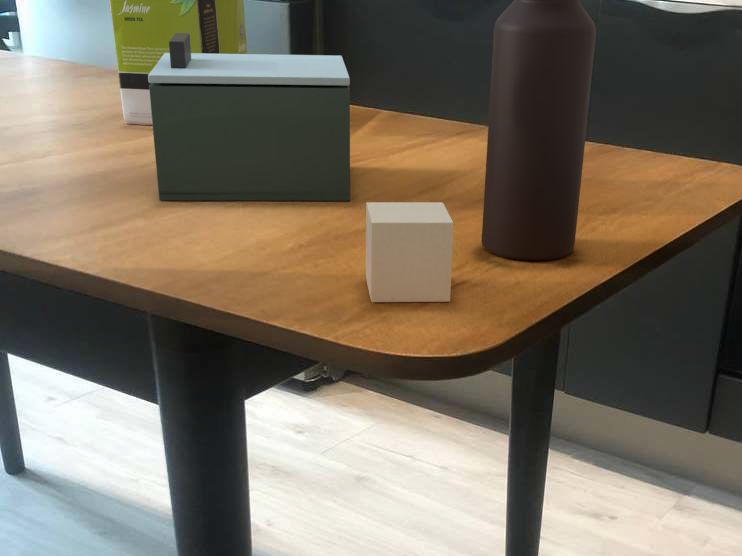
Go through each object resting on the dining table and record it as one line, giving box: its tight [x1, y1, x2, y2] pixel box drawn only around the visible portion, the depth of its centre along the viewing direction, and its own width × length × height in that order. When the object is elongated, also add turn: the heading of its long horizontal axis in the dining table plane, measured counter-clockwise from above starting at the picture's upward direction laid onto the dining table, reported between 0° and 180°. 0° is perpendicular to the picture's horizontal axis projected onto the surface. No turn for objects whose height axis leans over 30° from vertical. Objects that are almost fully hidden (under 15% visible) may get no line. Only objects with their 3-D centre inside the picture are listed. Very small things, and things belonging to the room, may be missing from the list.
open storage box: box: [149, 83, 351, 202], centre depth 93 cm, size 16×14×9 cm
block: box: [365, 201, 455, 303], centre depth 69 cm, size 5×5×5 cm
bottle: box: [481, 0, 597, 262], centre depth 74 cm, size 7×7×20 cm
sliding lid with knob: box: [148, 33, 351, 87], centre depth 90 cm, size 16×14×3 cm
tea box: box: [108, 0, 248, 126], centre depth 119 cm, size 15×10×15 cm, turn 170°
